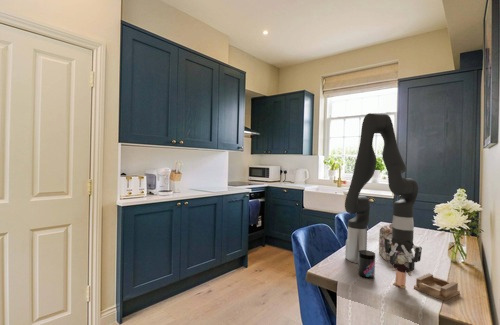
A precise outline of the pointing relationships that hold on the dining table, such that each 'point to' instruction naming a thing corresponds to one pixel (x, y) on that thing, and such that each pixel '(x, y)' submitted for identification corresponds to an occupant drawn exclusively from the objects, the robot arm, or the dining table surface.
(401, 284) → the grandmother figurine
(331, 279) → the dining table surface
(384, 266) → the dining table surface
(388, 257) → the decorative jar
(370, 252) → the supplement container
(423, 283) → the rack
